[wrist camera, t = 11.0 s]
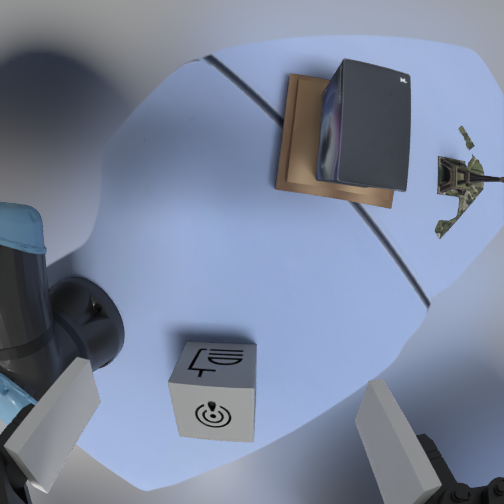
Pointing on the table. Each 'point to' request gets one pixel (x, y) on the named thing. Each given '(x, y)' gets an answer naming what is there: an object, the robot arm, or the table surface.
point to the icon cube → (215, 391)
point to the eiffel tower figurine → (460, 182)
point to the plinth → (313, 148)
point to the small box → (365, 127)
